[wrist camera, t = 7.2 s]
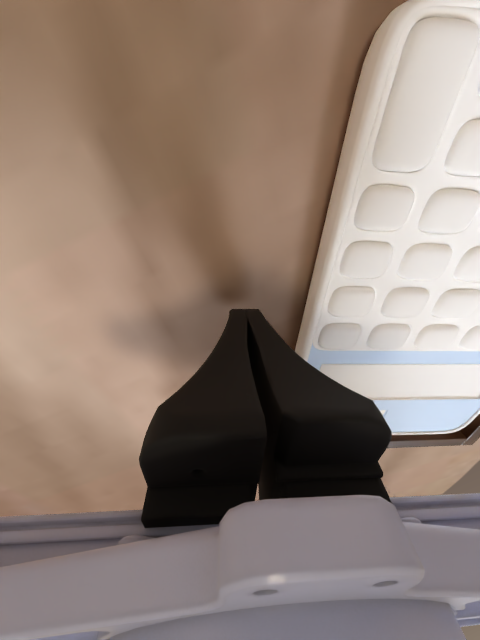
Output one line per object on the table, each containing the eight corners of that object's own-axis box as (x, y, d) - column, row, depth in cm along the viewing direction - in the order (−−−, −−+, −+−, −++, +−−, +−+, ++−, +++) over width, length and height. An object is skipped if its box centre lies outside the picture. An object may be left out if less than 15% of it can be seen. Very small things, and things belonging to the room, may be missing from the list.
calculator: (754, 48, 8) (874, 27, 7) (446, 415, 20) (465, 439, 18) (369, 4, 7) (407, -32, 6) (276, 418, 19) (281, 443, 17)
